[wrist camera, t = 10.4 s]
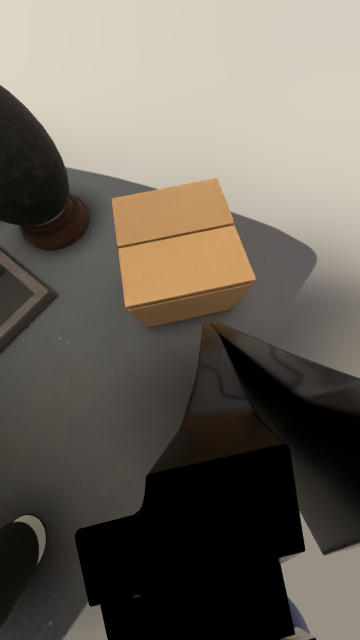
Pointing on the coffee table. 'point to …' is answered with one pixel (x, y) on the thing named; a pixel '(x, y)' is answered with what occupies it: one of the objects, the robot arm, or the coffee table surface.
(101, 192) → the coffee table surface
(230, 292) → the carton
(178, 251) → the flap
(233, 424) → the robot arm
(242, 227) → the coffee table surface
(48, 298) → the picture frame
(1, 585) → the dixie cup
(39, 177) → the black ball on stand
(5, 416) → the coffee table surface
